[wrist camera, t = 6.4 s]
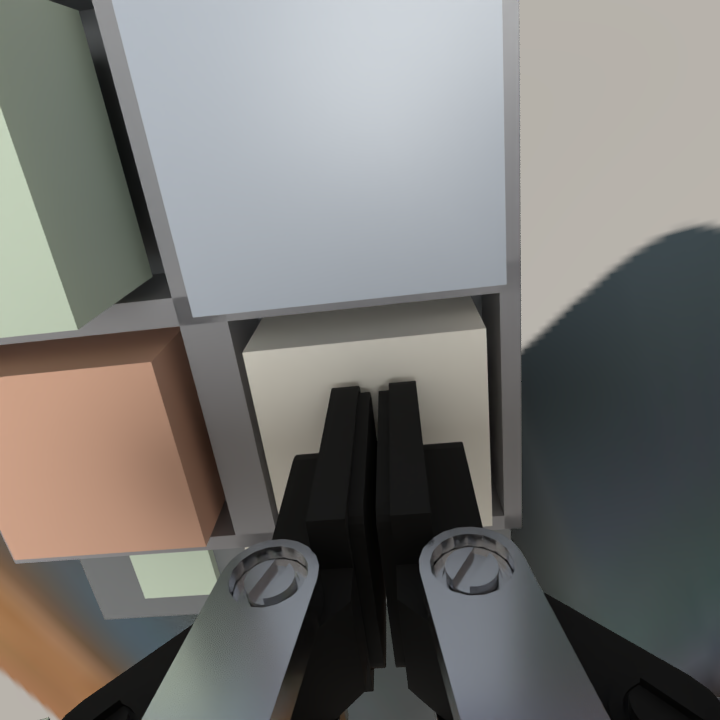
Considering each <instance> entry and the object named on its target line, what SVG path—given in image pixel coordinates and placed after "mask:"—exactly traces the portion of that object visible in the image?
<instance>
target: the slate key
mask: <svg viewBox="0 0 720 720" xmlns="http://www.w3.org/2000/svg"><path fill="white" fill-rule="evenodd" d="M112 4H113V8H114V12H115V16H116V20H117V23H118V27H119V31H120V35H121V39H122V43H123V47H124V51H125V55H126V58H127V62H128V66H129V70H130V74H131V78H132V82H133V86H134V90H135V94H136V97H137V101H138V105H139V109H140V113H141V117H142V121H143V125H144V129H145V133H146V136H147V140H148V144H149V148H150V152H151V156H152V160H153V164H154V168H155V172H156V175H157V179H158V183H159V187H160V191H161V195H162V199H163V203H164V207H165V211H166V214H167V218H168V222H169V226H170V230H171V234H172V238H173V242H174V246H175V249H176V253H177V257H178V261H179V265H180V269H181V273H182V277H183V281H184V285H185V288H186V292H187V296H188V300H189V304H190V308H191V312H192V316H193V318H194V317H204V316H213V315H223V314H232V313H242V312H251V311H261V310H270V309H280V308H289V307H299V306H308V305H318V304H327V303H336V302H346V301H355V300H365V299H374V298H384V297H393V296H403V295H412V294H422V293H431V292H441V291H450V290H460V289H469V288H479V287H488V286H497V285H507V273H506V209H505V145H504V81H503V17H502V0H112Z"/></svg>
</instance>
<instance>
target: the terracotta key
mask: <svg viewBox="0 0 720 720" xmlns="http://www.w3.org/2000/svg"><path fill="white" fill-rule="evenodd" d="M225 499H226V498H225V494H224V490H223V486H222V483H221V479H220V475H219V472H218V468H217V464H216V460H215V457H214V453H213V449H212V446H211V442H210V438H209V434H208V431H207V427H206V423H205V419H204V416H203V412H202V408H201V405H200V401H199V397H198V393H197V390H196V386H195V382H194V379H193V375H192V371H191V367H190V364H189V360H188V356H187V352H186V349H185V345H184V341H183V338H182V334H181V330H180V326H177V327H168V328H158V329H149V330H139V331H130V332H120V333H110V334H101V335H91V336H82V337H72V338H63V339H53V340H43V341H34V342H24V343H15V344H5V345H0V531H1V533H2V535H3V537H4V539H5V541H6V543H7V545H8V547H9V549H10V551H11V554H12V556H13V558H14V560H24V559H39V558H53V557H67V556H81V555H95V554H109V553H124V552H138V551H152V550H166V549H180V548H194V547H206V546H207V544H208V541H209V539H210V536H211V534H212V531H213V529H214V526H215V524H216V521H217V519H218V516H219V514H220V512H221V509H222V507H223V504H224V502H225Z"/></svg>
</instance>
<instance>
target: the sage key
mask: <svg viewBox="0 0 720 720" xmlns="http://www.w3.org/2000/svg"><path fill="white" fill-rule="evenodd" d="M151 277H153V276H152V272H151V269H150V265H149V261H148V258H147V254H146V251H145V247H144V244H143V240H142V236H141V233H140V229H139V226H138V222H137V218H136V215H135V211H134V208H133V204H132V200H131V197H130V193H129V190H128V186H127V183H126V179H125V175H124V172H123V168H122V165H121V161H120V157H119V154H118V150H117V147H116V143H115V139H114V136H113V132H112V129H111V125H110V121H109V118H108V114H107V111H106V107H105V104H104V100H103V96H102V93H101V89H100V86H99V82H98V78H97V75H96V71H95V68H94V64H93V60H92V57H91V53H90V50H89V46H88V43H87V39H86V35H85V32H84V28H83V25H82V21H81V17H80V14H79V11H78V10H75V9H72V8H69V7H67V6H64V5H61V4H58V3H55V2H52V1H49V0H0V338H5V337H14V336H24V335H33V334H43V333H52V332H62V331H71V330H78V329H80V328H81V327H83V326H84V325H85V324H87V323H88V322H90V321H91V320H92V319H94V318H95V317H97V316H98V315H99V314H101V313H102V312H104V311H105V310H106V309H108V308H109V307H111V306H112V305H113V304H115V303H116V302H118V301H119V300H120V299H122V298H123V297H125V296H126V295H128V294H129V293H130V292H132V291H133V290H135V289H136V288H137V287H139V286H140V285H142V284H143V283H144V282H146V281H147V280H149V279H150V278H151Z"/></svg>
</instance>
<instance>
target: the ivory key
mask: <svg viewBox="0 0 720 720" xmlns="http://www.w3.org/2000/svg"><path fill="white" fill-rule="evenodd" d="M242 354H243V358H244V363H245V367H246V372H247V376H248V381H249V385H250V390H251V394H252V398H253V403H254V407H255V412H256V416H257V421H258V425H259V430H260V434H261V438H262V443H263V447H264V452H265V456H266V461H267V465H268V470H269V474H270V479H271V483H272V487H273V492H274V496H275V501H276V505H277V510H278V514H279V511H280V507H281V503H282V500H283V496H284V492H285V488H286V485H287V481H288V477H289V473H290V470H291V466H292V462H293V459H294V457H295V456H296V455H299V454H311V453H319V450H320V444H321V439H322V434H323V429H324V424H325V419H326V414H327V409H328V404H329V399H330V394H331V389H332V388H339V387H350V386H359V387H360V391H361V393H363V392H370V393H371V398H372V406H373V413H374V421H375V429H376V437H377V432H378V393H379V391H386V390H389V383H395V382H406V381H416V387H417V395H418V404H419V413H420V422H421V431H422V440H423V445H424V444H437V443H449V442H463V445H464V449H465V454H466V458H467V462H468V466H469V471H470V475H471V479H472V483H473V488H474V492H475V496H476V500H477V505H478V509H479V513H480V517H481V522H482V526H483V527H485V526H493V525H492V494H491V463H490V431H489V400H488V369H487V338H486V327H485V325H484V323H483V321H482V319H481V317H480V315H479V313H478V310H477V308H476V306H475V304H474V302H473V300H472V298H471V296H465V297H455V298H445V299H436V300H426V301H417V302H407V303H398V304H388V305H378V306H369V307H359V308H350V309H340V310H331V311H321V312H311V313H302V314H292V315H283V316H273V317H264V318H262V320H261V321H260V323H259V325H258V326H257V328H256V330H255V332H254V333H253V335H252V337H251V338H250V340H249V342H248V344H247V345H246V347H245V349H244V350H243V352H242Z"/></svg>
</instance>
